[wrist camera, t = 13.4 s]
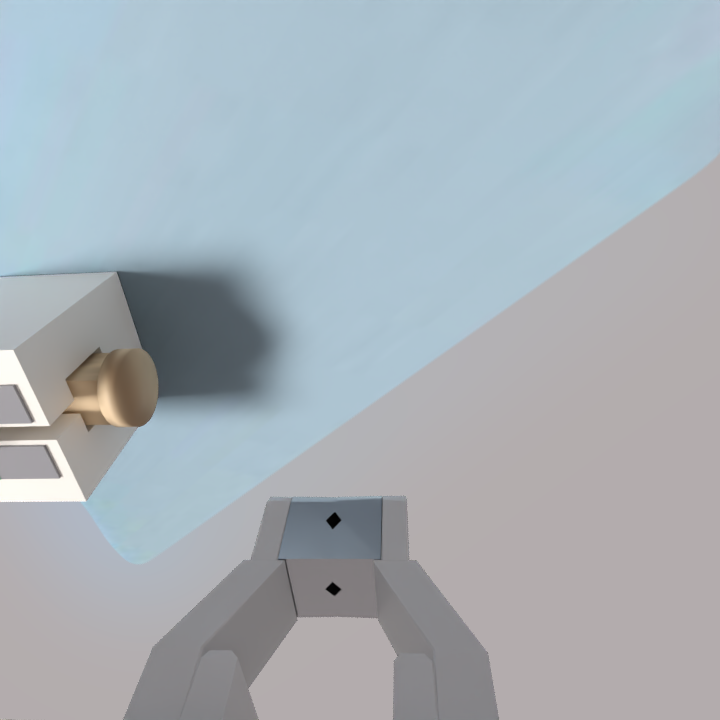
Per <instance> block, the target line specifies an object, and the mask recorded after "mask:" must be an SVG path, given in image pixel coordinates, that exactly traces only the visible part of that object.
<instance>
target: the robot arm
mask: <svg viewBox="0 0 720 720" xmlns="http://www.w3.org/2000/svg"><path fill="white" fill-rule="evenodd" d="M337 616H338V617H361V618H362V617H363V618H378V621H379V623H380V625H381V626H382V628H383V630H384V632H385V633H386V635H387V637H388V639H389V641H390V643H391V645H392V647H393V648H394V650H395V652H396V654H397V656H398V657H397V658H396V659H395V660H394V698H393V699H394V701H393V704H394V705H393V720H499V717H498V710H497V704H496V699H495V692H494V686H493V681H492V675H491V669H490V662H489V656H488V652H487V651H486V650H485V649H484V647H483V646H482V645H481V643H480V642H479V641H478V640H477V638H476V637H475V636H474V634H473V633H472V632H471V631H470V629H469V628H468V627H467V625H466V624H465V623H464V622H463V620H462V619H461V618H460V616H459V615H458V614H457V612H456V611H455V610H454V609H453V607H452V606H451V605H450V603H449V602H448V601H447V599H446V598H445V597H444V596H443V594H442V593H441V592H440V590H439V589H438V588H437V587H436V585H435V584H434V583H433V581H432V580H431V579H430V577H429V576H428V575H427V574H426V572H425V571H424V570H423V569H422V567H421V566H420V564H419V563H418V562H417V561H416V560H409V542H408V517H407V499H406V496H383V497H382V496H368V497H367V496H365V497H338V498H336V497H335V498H334V497H332V498H331V497H270V499H269V500H268V502H267V504H266V508H265V511H264V514H263V518H262V521H261V525H260V528H259V532H258V535H257V539H256V543H255V546H254V550H253V553H252V557H251V560H243V561H242V562H241V563H240V564H239V565H238V566H237V567H236V568H235V569H234V570H233V571H232V572H231V573H230V574H229V575H228V576H227V577H226V578H225V579H223V581H221V582H220V583H219V584H218V585H217V586H216V587H215V588H214V589H213V590H212V591H211V592H210V593H209V594H208V595H207V596H206V597H205V598H204V599H203V600H202V601H200V602H199V603H198V604H197V605H196V606H195V607H194V608H193V609H192V610H191V611H190V612H189V613H188V614H187V615H186V616H185V617H184V618H183V619H182V620H181V621H180V622H179V623H177V624H176V625H175V626H174V627H173V628H172V629H171V630H170V631H169V632H168V633H167V634H166V635H165V636H164V637H163V638H162V639H161V640H160V641H159V642H158V643H157V644H156V645H155V646H154V647H153V648H152V651H151V653H150V656H149V658H148V661H147V663H146V665H145V668H144V670H143V673H142V675H141V678H140V680H139V682H138V685H137V687H136V690H135V692H134V695H133V697H132V699H131V702H130V704H129V707H128V709H127V712H126V714H125V717H124V719H123V720H259V719H258V716H257V713H256V710H255V707H254V705H253V702H252V699H251V696H250V693H249V690H248V688H249V687H250V685H251V684H252V682H253V681H254V680H255V678H256V677H257V676H258V674H259V673H260V671H261V670H262V669H263V667H264V666H265V664H266V663H267V662H268V660H269V659H270V658H271V656H272V655H273V653H274V652H275V650H276V649H277V648H278V646H279V645H280V643H281V642H282V641H283V639H284V638H285V637H286V635H287V634H288V632H289V631H290V630H291V628H292V627H293V625H294V624H295V622H296V621H297V617H337ZM0 720H10V719H0Z"/></svg>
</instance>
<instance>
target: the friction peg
mask: <svg viewBox="0 0 720 720" xmlns="http://www.w3.org/2000/svg"><path fill="white" fill-rule="evenodd" d="M65 380H66V382H67V384H68V387H69V389H70V391H71V394H72V396H73V398H74V401H73V402H72V403H71V404H70V405H69V406H68V407H67V409H66V410H65V411H64V412H63V413H62V414H81V417H82V419H83V421H84V423H85V425H113V426H115V427H140V426H143V425H145V424H146V423H147V422H148V421H149V420H150V419H151V417H152V415H153V413H154V411H155V408H156V404H157V399H158V376H157V371H156V367H155V364H154V362H153V360H152V358H151V356H150V355H149V354H148V353H147V352H146V351H145V350H143V349H139V348H133V349H116V350H113V351H112V352H110V353H92V354H91V355H90V356H89V357H88V358H87V359H86V360H85V361H84V362H83V363H82V364H81V365H80V366H79V367H78V368H77V369H76V370H74V371H73V372H72V373H71V374H70V375H69V376H68V377H67V378H66V379H65Z"/></svg>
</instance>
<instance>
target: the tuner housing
mask: <svg viewBox="0 0 720 720" xmlns="http://www.w3.org/2000/svg"><path fill="white" fill-rule="evenodd" d="M133 348H139V349H142V347H141V343H140V340H139V337H138V334H137V331H136V328H135V325H134V322H133V319H132V316H131V313H130V310H129V307H128V304H127V301H126V298H125V295H124V292H123V289H122V286H121V283H120V280H119V277H118V274H117V272H98V273H76V274H53V275H30V276H7V277H0V502H50V501H87V500H88V498H89V497H90V495H91V494H92V492H93V491H94V490H95V488H96V487H97V485H98V484H99V482H100V481H101V479H102V478H103V477H104V475H105V474H106V472H107V471H108V469H109V468H110V467H111V465H112V464H113V462H114V461H115V459H116V458H117V457H118V455H119V454H120V452H121V451H122V449H123V448H124V446H125V445H126V444H127V442H128V441H129V439H130V438H131V436H132V435H133V434H134V432H135V431H136V429H137V428H138V427H115V426H113V425H85V423H84V421H83V419H82V417H81V414H62V413H63V412H64V411H65V410H66V409H67V407H68V406H69V405H70V404H71V403H72V402H73V401H74V398H73V396H72V394H71V391H70V389H69V387H68V384H67V382H66V380H65V379H66V378H67V377H68V376H69V375H70V374H71V373H72V372H73V371H74V370H76V369H77V368H78V367H79V366H80V365H81V364H82V363H83V362H84V361H85V360H86V359H87V358H88V357H89V356H90V355H91V354H92V353H110V352H112V351H113V350H116V349H133Z"/></svg>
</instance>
